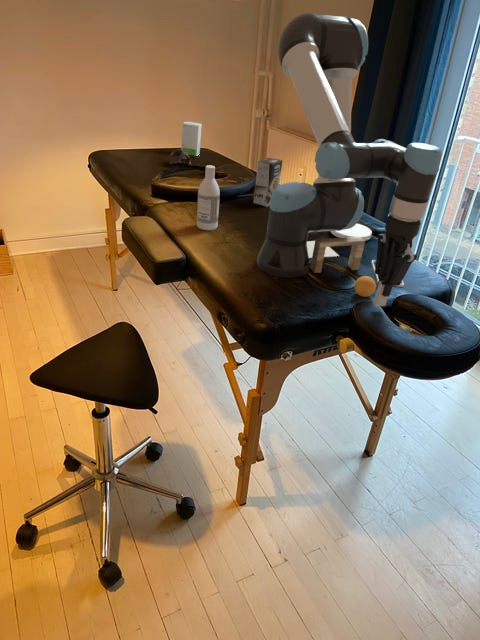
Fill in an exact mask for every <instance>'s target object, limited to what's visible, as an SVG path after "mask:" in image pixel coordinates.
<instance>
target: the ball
mask: <svg viewBox="0 0 480 640" xmlns="http://www.w3.org/2000/svg"><path fill="white" fill-rule="evenodd" d="M353 285H354V286H353V287H354V288H353V289H354V290H355V292H356V294H357V295H358V296H360V297H362V298H363V297H364V298H367V297H370V296H371V295H373V294H374V292H376V290H377V284H376V281H375V279H373V278H372V277H371V276H369V275H368V276H367V275H364V276H363V275H362V276H360V277H358V278H357V279H356V280H355V282H354V284H353Z"/></svg>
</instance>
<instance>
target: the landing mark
mask: <svg viewBox="0 0 480 640" xmlns="http://www.w3.org/2000/svg"><path fill="white" fill-rule="evenodd" d="M314 245H315V240H311V241H310V240H309V241H308V240H307V249H308V255H309V259H312V256H313V250H314ZM337 256H338V257H340V255H339V254H338V253H337V252H336V251H335V250H334V249H332V247H326V249H325V254H324V258H334V257H335V258H336V257H337ZM338 257H337V258H338Z"/></svg>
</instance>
